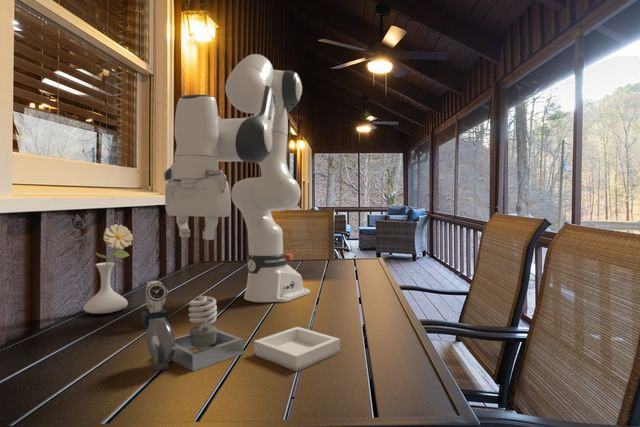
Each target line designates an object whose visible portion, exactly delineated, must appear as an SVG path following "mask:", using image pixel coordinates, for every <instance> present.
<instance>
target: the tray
mask: <svg viewBox="0 0 640 427" xmlns="http://www.w3.org/2000/svg"><path fill="white" fill-rule="evenodd" d="M340 353H341V339H340V338H338V337H335V336H331V335H327V334H324V333H320V332H317V331H314V330H311V329H307V328H303V327H301V326H295V327H292V328H289V329H286V330H283V331H280V332H277V333H275V334H270V335H268V336H264V337H262V338H259V339H255V340H253V355H254V356H256V357H259V358H261V359H264V360H267V361H270V363H275V364H277V365H279V366H282V367H284V368H287V369H288V370H292V371H295V372H299V371H301V370H303V369H306V368H308V367H310V366H312V365H315V364H318V363H320V362H321V361H325V360H326V359H328V358H331V357H333V356H335V355H338V354H340Z"/></svg>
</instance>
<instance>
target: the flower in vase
mask: <svg viewBox="0 0 640 427" xmlns="http://www.w3.org/2000/svg"><path fill="white" fill-rule="evenodd" d="M133 237H134V236H133V233H131V230H129V228H128V227H126V226H123V225H122V224H119V225H118V224H117V223H115V224H114V225H113V224H112V225H110V227H106V228H105V230H104V233H103V239H102V240H103V241H104V242H105V244H106V245H107V246H108V247H109V248H113V251H112V253H111V255H110V256H107V255H106V254H105V255H104V254H101V253H99V252H96V251H95V254H96V256H98V257H99V258H102V259H107V261H106V262H99V263H95V267H96V268H97V269H98V272H99V275H100V283H101V284H100V289H99V291H98V292H97V293H96V294H94V296H92V297H91V298H90V299H89V300H88V301H87V302H86V303H85V304H84V305H83V308H82V309H83V311H84V312H86V313H87V314H88V313H89V314H95V315H96V314H97V315H98V314H102V315H103V314H110V313H114V312H117V311H121V310H124V309H125V308H127V306H128V305H129V302H128V300H127V299H126V298H125V297H123V296H122V295H120V294H119V293H117V292H115V291H114V290H113V289H112V287H111V272H112V269H113V267H114V266H115V262H111V261H110V260H111V259H112V257H113V256H115V257H116V258H118V259H123V258H126V257H129V256H130V254H129V253H128V252H127V251H125V250H124V249H125V248H127V247H130V246H132V241H133ZM116 249H117V251H116Z"/></svg>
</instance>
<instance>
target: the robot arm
mask: <svg viewBox="0 0 640 427" xmlns="http://www.w3.org/2000/svg"><path fill="white" fill-rule="evenodd" d="M225 94H226V97H227V99H228V101H229V102H230V104H231V105H232V106H233V107H234V108H235V109H236V110H238V111H240V112H242V113H246V114H252V115H251V116H247V117H240V118H239V117H236V118H235V117H234V118H222V117H220V116H219V112H218V111H219V110H218V105H217V100H216V98H215V97H214V96H212V95H210V94H187V95H183V96H181V97H180V98H179V99H178V102H177V104H176V108H175V109H176V110H175V117H174V139H175V142H176V149H175V152H174V157H173V159H174V161H173V163H171V166H170V167H168V168H167V169H166V170H165V171H164V172H163V181H164V182H167V183H166V184H165V189H164V191H165V192H164V202H165V203H164V204H165V212H166V214H167V215H168V216H169V217H170V216H174V217H176V220H175V221H176V224H177V228H178V230H179V237H180V238H190V237H191V229H190V228H189V224H188V222H189V217H204V220H205V221H204V222H205V224H206V225H205V228H204V230H202V239H203V240H206V241H212V240H213V241H214V239H215V232H216V229H217V227H218V223H219V218H223V217H224V218H227V217H229V216H230V214H231V211H232V209H231V207H232V205H231V200H232V203H233V205H234V206H235V207H236V208H237V209H238V210H239V211H240V213H241V214H242V217H243V220H244V222H245V225H246V229H247V244H248V254H247V256H246V257H247V258H246V259H247V260H246V262H247V266H246V267H247V271H248V272H247V274H248V275H247V282H246V288H245V293H244V296H243V299H244V300H246V301H247V302H248V301H249V302H252V303H253V302H254V303H286V302H289V301H292V300H295V299H298V298H301V297H303V296H306V295H309V294H311V290H310V289H309V288H307V287H304V281H303V278H302V275H301V274H300V273H299V272H298V271H297V270H296V269H294V268H293V267H291V266H290V265H289V264H288V261H292V260H293V259H294V257H293V254H291V253H286V254H285V253H284V238H283V237H284V232H283V230H282V227H281V226H280V225H279V224H277V223H276V222H275V219H274V218H273V216H272V213H271V212H282V211H287V210H292V209H293V208H296V207H297V206H298V204H299V202H300V199H301V196H302V192H301V191H302V190H301V188H300V184H299V183H298V182H297V180H296V179H294V178H293V176H292V174H291V172H290V170H289V167H288V164H287V149H288V148H287V147H288V146H287V145H288V144H287V143H288V133H289V123H288V122H289V121H288V119H289V118H288V113H290V112H291V111H292V110H293V108H294V107H296V106H297V104H299V102H300V100H301V96H302V94H303V85H302V81H301V77H300V76H299V74H298V72H296V71H293V70H287V69H286V70H279V69H274V68H273V64H272V63H271V62H270V60H269V59H268V58H267V57H265V56H264V55H262V54H259V53H258V54H257V53H252V54H249V55H247V56H246V57H244V58H242V60H240V61H239V62H238V63H237V64H236V65H235V67H234V68H233V69H232V71H231V72H230V74H229V75H228V78H227V79H226V82H225ZM219 162H220V163H221V162H223V163H224V162H227V163H228V162H244V163H245V162H247V163H256V164H258V165H259V167H260V174H261V175H260V176H259V177H258V176H257V177H247V178H243V179H242V180H238V181H236V182H235V183H234V184H233V186H232V189H231V191H230V186H229V182H228V181H227V175H226V174H225V173H224V172H223V170H222V169H219V168H220V167H219V165H220V163H219ZM230 192H231V193H230Z"/></svg>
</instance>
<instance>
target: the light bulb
mask: <svg viewBox="0 0 640 427" xmlns="http://www.w3.org/2000/svg"><path fill="white" fill-rule="evenodd" d="M188 305H189V306H190V307H188V308H187V309H188V312H189V313H188V315H187V316H188V317H189V320H188V321H189V323H191V324H198V323H202V324H200V325H196V326H194V327H191V328H190V329H189V334H190V343H191V345H192V346H194V347H196V352H197V351H200V350H204V349H207V348H210V347H211V346H213V345H215V344H214V343H215V342H216V336H217V329H218V328H217V326H215V325H212V324H214V323H215V322H216V321H217V315H218V311H217V309H218V306H217V300H216V299H215V298H214V297H212V296H206V295H199V296H198V300H191V301H190V302H188ZM202 305H203V306H202Z"/></svg>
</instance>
